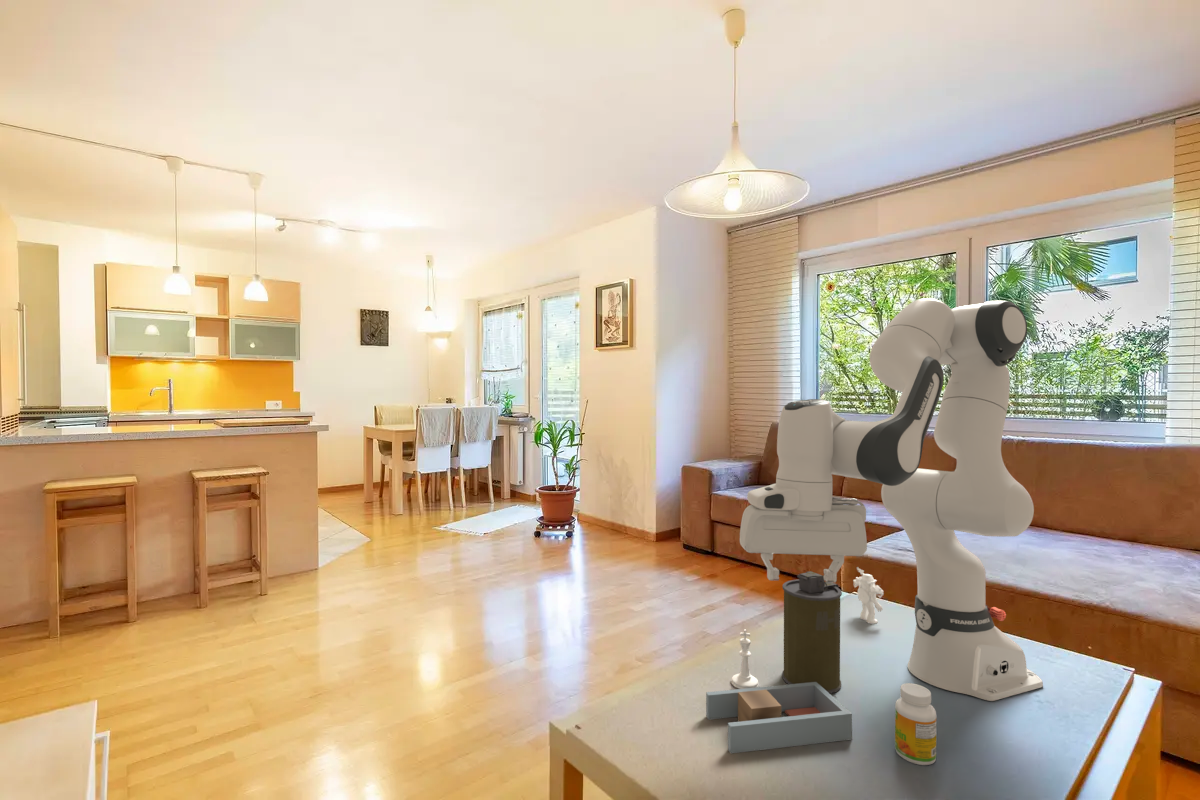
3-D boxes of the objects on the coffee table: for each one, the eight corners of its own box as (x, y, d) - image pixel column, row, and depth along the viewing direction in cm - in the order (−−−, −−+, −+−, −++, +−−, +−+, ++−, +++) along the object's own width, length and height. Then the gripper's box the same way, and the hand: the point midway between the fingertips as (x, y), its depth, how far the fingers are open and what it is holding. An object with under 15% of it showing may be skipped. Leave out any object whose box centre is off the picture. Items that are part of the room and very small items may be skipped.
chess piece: (759, 691, 102) (759, 636, 102) (731, 688, 103) (731, 634, 103) (757, 678, 107) (757, 625, 107) (730, 675, 108) (731, 623, 108)
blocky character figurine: (849, 613, 139) (849, 565, 139) (863, 612, 140) (864, 564, 140) (873, 628, 130) (873, 576, 130) (888, 627, 131) (888, 575, 131)
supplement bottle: (888, 743, 87) (888, 680, 87) (923, 744, 87) (924, 680, 87) (906, 766, 81) (906, 698, 81) (944, 767, 81) (944, 699, 81)
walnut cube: (766, 719, 93) (766, 689, 93) (781, 737, 88) (781, 705, 88) (737, 722, 92) (738, 692, 92) (751, 741, 87) (751, 708, 87)
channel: (816, 704, 98) (816, 681, 98) (851, 739, 88) (852, 713, 88) (706, 716, 94) (706, 692, 94) (730, 753, 84) (730, 726, 84)
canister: (810, 700, 99) (811, 586, 99) (770, 673, 109) (770, 569, 109) (855, 687, 104) (856, 578, 104) (813, 662, 113) (813, 563, 113)
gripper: (857, 495, 97) (855, 576, 97) (738, 492, 97) (736, 573, 97) (875, 501, 91) (873, 588, 90) (748, 498, 91) (745, 584, 90)
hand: (801, 580), depth 94 cm, fingers open, 8 cm apart
